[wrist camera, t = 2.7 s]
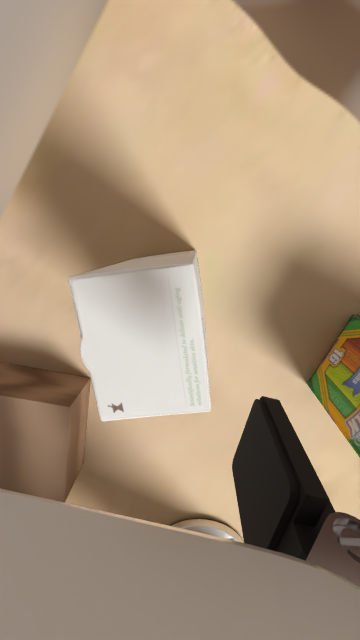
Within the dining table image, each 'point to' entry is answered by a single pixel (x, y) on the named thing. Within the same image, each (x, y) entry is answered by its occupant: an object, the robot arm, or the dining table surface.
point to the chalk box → (342, 383)
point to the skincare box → (144, 336)
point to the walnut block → (41, 430)
